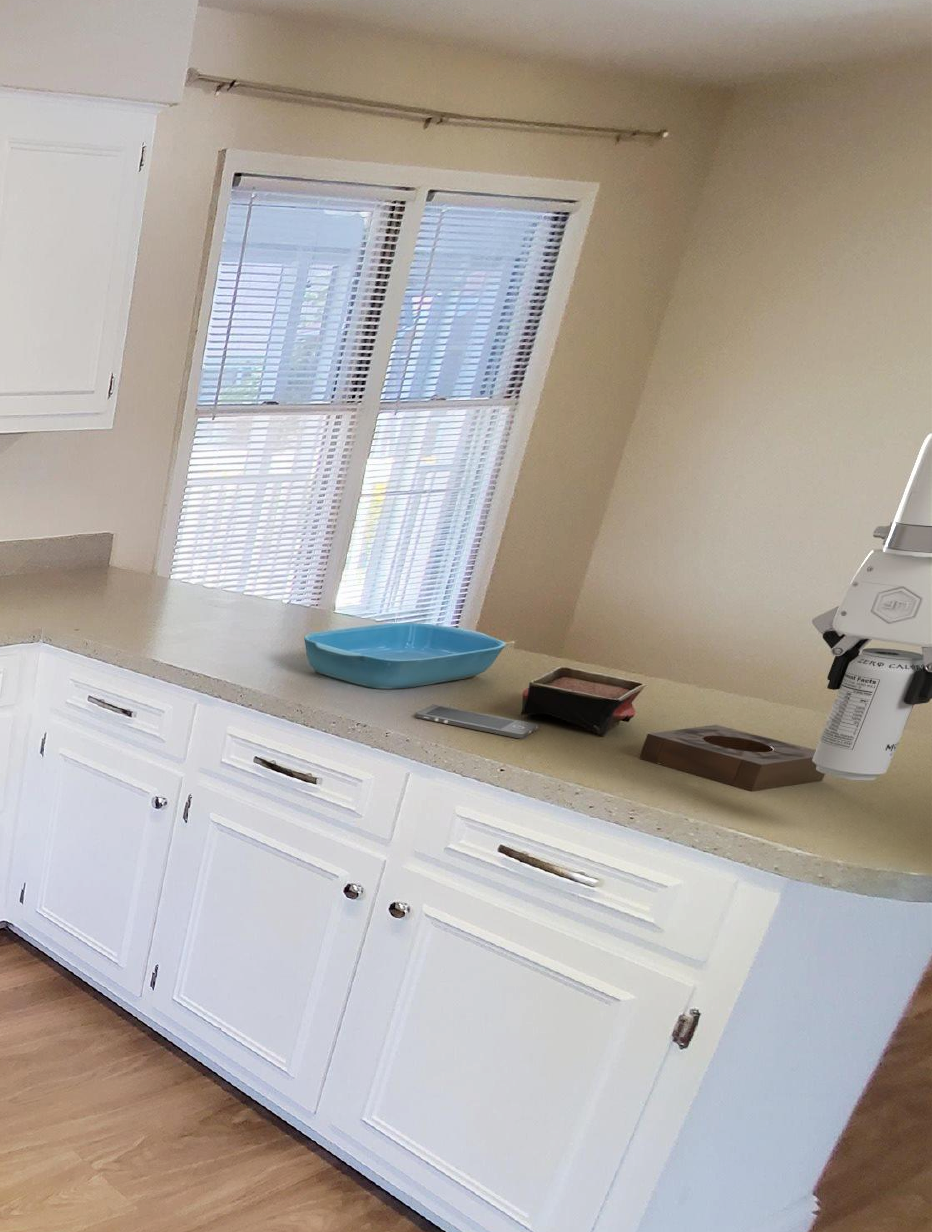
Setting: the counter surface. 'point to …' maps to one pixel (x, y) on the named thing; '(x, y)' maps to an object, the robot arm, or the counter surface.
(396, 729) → the counter surface
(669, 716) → the counter surface
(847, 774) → the energy drink can
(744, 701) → the counter surface
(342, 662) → the casserole dish
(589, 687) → the dark brown bonsai pot
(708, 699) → the counter surface
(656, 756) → the holder
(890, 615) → the robot arm
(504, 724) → the smartphone
